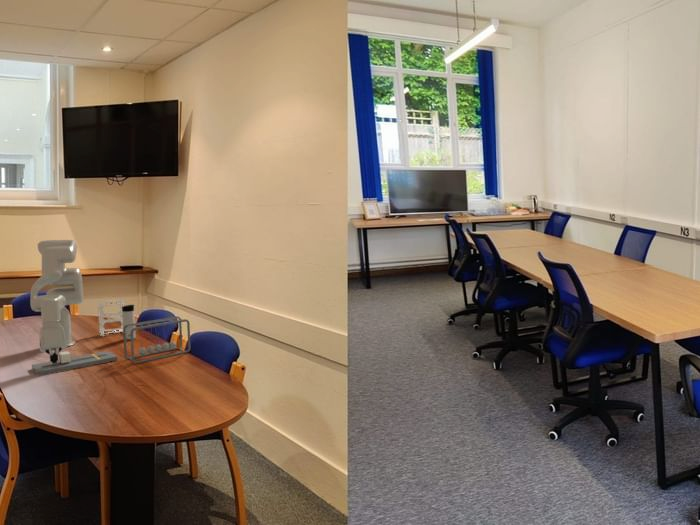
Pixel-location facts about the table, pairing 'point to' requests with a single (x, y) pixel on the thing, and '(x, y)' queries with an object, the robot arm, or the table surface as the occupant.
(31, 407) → the table surface
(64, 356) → the fader tab
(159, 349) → the newton's cradle
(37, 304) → the robot arm
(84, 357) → the board
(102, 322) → the film strip holder
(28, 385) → the table surface
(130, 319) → the travel mug
